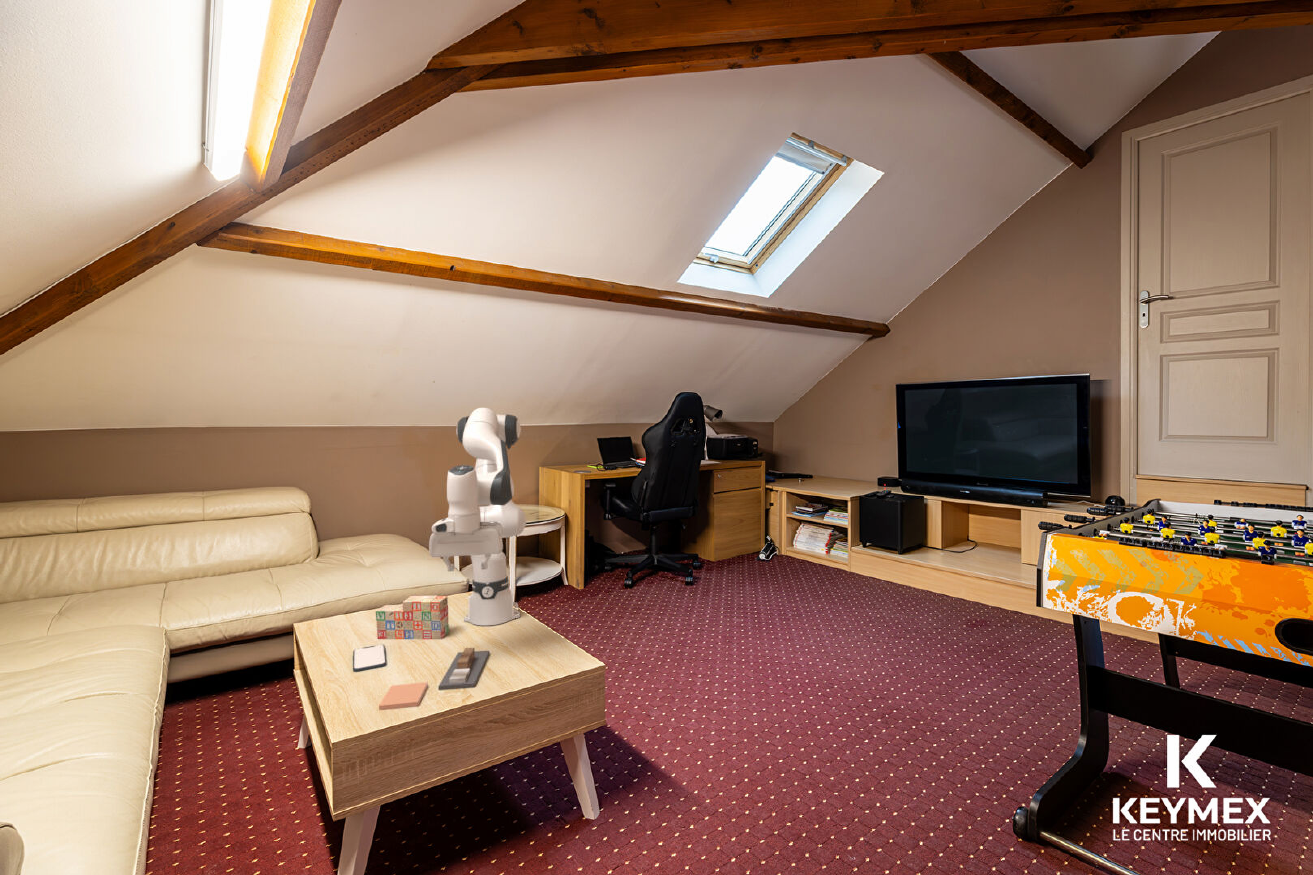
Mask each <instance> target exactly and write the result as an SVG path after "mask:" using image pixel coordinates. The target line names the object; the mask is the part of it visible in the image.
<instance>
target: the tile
mask: <svg viewBox="0 0 1313 875" xmlns="http://www.w3.org/2000/svg"><path fill="white" fill-rule="evenodd" d="M428 685H429V683H428V682H427V681H424V682H417V683H416V682H415V683H405V684H395V685H391V686H390V687H389V689H388V690H387V692H386V694H385V695H384V696H383V699H382V700H381V702H380V703H379V706H378V710H379V711H384V710H393V709H404V708H405V709H406V708H415V707H419V705H420V703H421V701H422V699H423V697H424V695H425V693H426V691H427V689H428V687H429V686H428Z"/></svg>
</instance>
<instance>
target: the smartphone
mask: <svg viewBox="0 0 1313 875" xmlns="http://www.w3.org/2000/svg"><path fill="white" fill-rule="evenodd" d="M387 664H388V663H387V652H386V645H385V644H377V645H372V646H365V647H360V648H356V649H354V650H353V652H352V671H353V673H359V672H360V673H361V672H364V671H370V670H375V669H380V668H385V667H386V666H387Z"/></svg>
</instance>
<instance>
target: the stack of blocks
mask: <svg viewBox="0 0 1313 875" xmlns="http://www.w3.org/2000/svg"><path fill="white" fill-rule="evenodd" d="M448 598H449V597H448V596H447V595H445V596H444V595H410V596H409V597H408V598H407V599H404V600H403V601H402V604H385V605H384V606H382V607H380V608H379V609H377V610H376V611H375V620H376V634H377V635H376V636H377V637H376V638H377V640H386V639H387V640H443V638H444V637H445V636H446V635H447V634H449V633H450V624H449V604H448Z"/></svg>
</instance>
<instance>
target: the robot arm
mask: <svg viewBox="0 0 1313 875" xmlns="http://www.w3.org/2000/svg"><path fill="white" fill-rule="evenodd" d="M520 423H521V422H520V421H519V418H518V417H517V416H515V415H512V414H497V413H496V412H495V411H494V410H493V409H490V408H489V407H478V408H476V409H474V410H473V411H472V412H471V413H470V415H467V416H464V417H461V418H460V419H459V420H458V422H457V424H456V431H455V432H456V436H457V439H458V442H459V443H460V444H461V445H462V446H463V448H464V450H465V451H466V453H468V455H470V456H471V457H473V458H475V466H473V465H470V464H461V465H456V466H453V467H451V468H450V469H449V470H447V477H446V478H447V480H446V500H447V502H448V512H447V515H448V517H446V518H443V519H440V520H438V521H436V522H435V523H433V524H432V526H431V532H432V533H431V535H430V537H429V542H428V552H429V554H428V555H430V557H432V558H442V561H443V563H444V564H445V565H446V567H447V572H454V571H455V563H451V561H450V560H449V559H450V557H462V556H463V557H464V556H470V559H471V564H472V572H473V573H472V576H473V577H472V578H473V579H472V584H471V585H472V586H471V587H472V593H471V594H470V595H469V596H468V614H467V615H466V616H464V617H463V621H464V622H466V623H471V624H472V625H475V626H493V625H494V626H495V625H500V624H504V623H508V622H509V621H512V620H515V618H516V619H519V618H521V613H520V609H519V605H518V602H517V601H516V602H515V601H514V598H513V597H514V596H513V593H512V590H511V588H509V586H510V581H509V577H508V573H507V557H506V553H504V552H503V549H504V544H503V539H505V538H511V537H515V536H518V535H521V534H522V533H523V531H524V530H525V529H526V525H527V516H526V513H525V511H524V510H523V509H522V507H520V506H518V505H517V504H516V503H514V501H513V500H512V499H513V498H514V493H515V485H514V481H513V478H512V475H511V469H510V459H509V453H508V450H510V449H511V448H512V446H513V445H515V444H516V443H517V442H518V441H519V439H520V436H521V431H522V426H521V424H520ZM513 606H514V607H515V608H518V610H519V611H518V610H517V609H515V608H513Z"/></svg>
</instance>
